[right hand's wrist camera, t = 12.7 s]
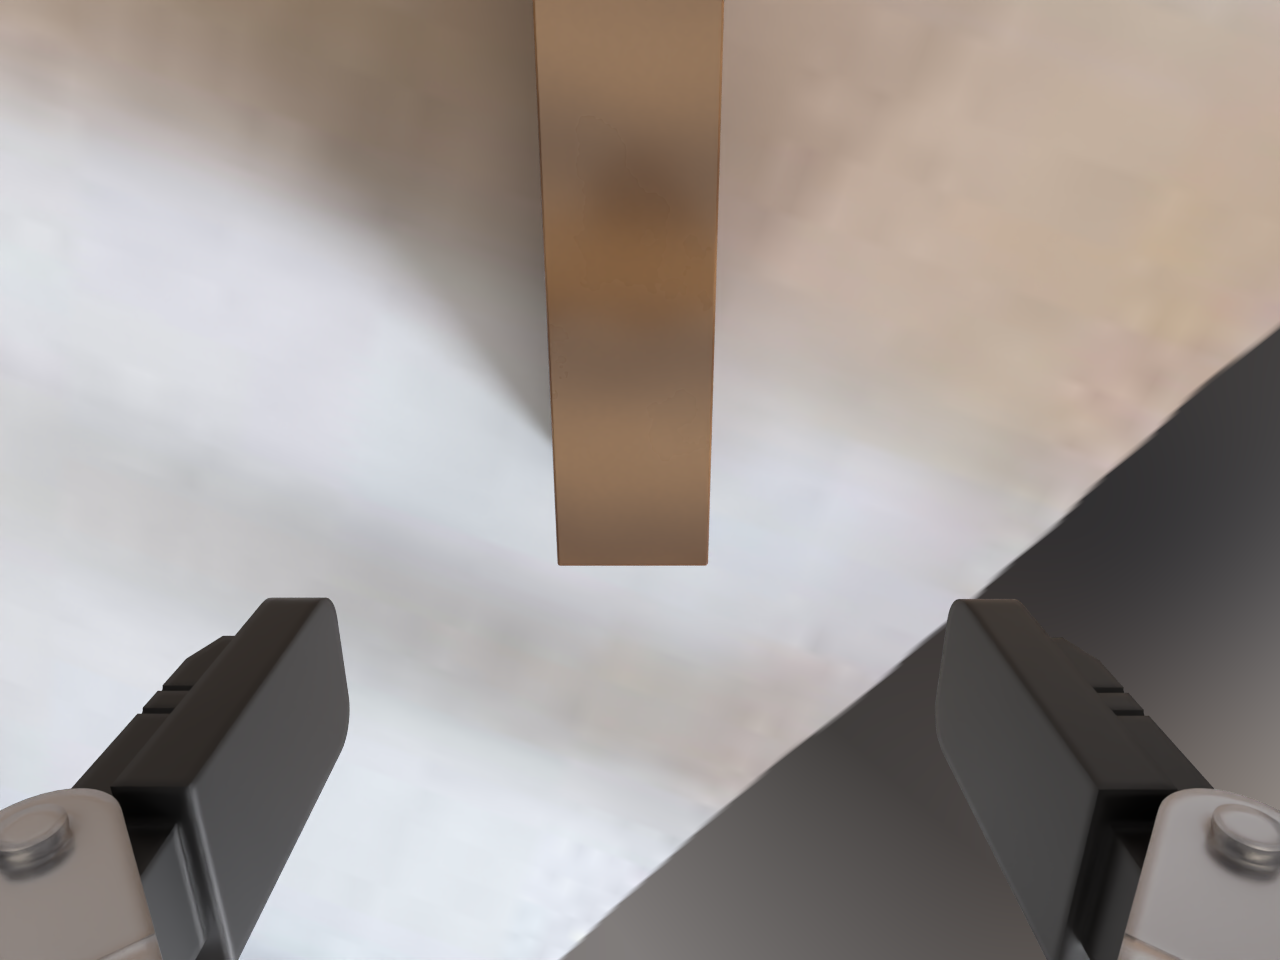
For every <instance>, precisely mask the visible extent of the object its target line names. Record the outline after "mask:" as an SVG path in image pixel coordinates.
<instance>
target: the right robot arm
mask: <svg viewBox="0 0 1280 960" xmlns="http://www.w3.org/2000/svg"><path fill="white" fill-rule="evenodd" d="M935 721H936V729H937V735H938V739H939V743H940V746H941V749H942V751H943V753H944V755H945V757H946V759H947V761H948V763H949V765H950V767H951V769H952V771H953V773H954V775H955V777H956V779H957V781H958V783H959V785H960V787H961V789H962V791H963V793H964V795H965V797H966V799H967V801H968V803H969V805H970V807H971V809H972V811H973V813H974V815H975V817H976V819H977V821H978V823H979V825H980V827H981V829H982V831H983V833H984V835H985V837H986V839H987V841H988V843H989V845H990V847H991V849H992V851H993V853H994V855H995V857H996V859H997V861H998V863H999V865H1000V867H1001V869H1002V871H1003V873H1004V875H1005V877H1006V879H1007V881H1008V883H1009V885H1010V887H1011V889H1012V891H1013V893H1014V895H1015V897H1016V899H1017V901H1018V903H1019V905H1020V907H1021V909H1022V911H1023V913H1024V915H1025V917H1026V919H1027V921H1028V923H1029V925H1030V927H1031V929H1032V931H1033V933H1034V935H1035V937H1036V939H1037V941H1038V943H1039V945H1040V947H1041V949H1042V951H1043V953H1044V955H1045V957H1046V959H1047V960H1280V811H1279V810H1277V809H1275V808H1273V807H1271V806H1269V805H1267V804H1265V803H1262V802H1260V801H1257V800H1255V799H1252V798H1249V797H1246V796H1243V795H1239V794H1236V793H1231V792H1227V791H1223V790H1216V789H1214V788H1213V787H1212V786H1211V785H1210V784H1209V782H1208V781H1207V780H1206V779H1205V778H1204V777H1203V776H1202V775H1201V774H1200V772H1199V771H1198V770H1197V769H1196V768H1195V767H1194V766H1193V765H1192V763H1191V762H1190V761H1189V760H1188V759H1187V758H1186V757H1185V756H1184V755H1183V753H1182V752H1181V751H1180V750H1179V749H1178V748H1177V747H1176V746H1175V744H1174V743H1173V742H1172V741H1171V740H1170V739H1169V738H1168V737H1167V736H1166V734H1165V733H1164V732H1163V731H1162V730H1161V729H1160V728H1159V727H1158V726H1157V724H1156V723H1155V722H1154V721H1153V720H1152V719H1151V718H1150V717H1149V716H1144V712H1143V709H1142V708H1141V707H1140V705H1139V704H1138V703H1137V702H1136V701H1135V700H1134V699H1133V698H1132V696H1131V695H1130V694H1129V693H1124V691H1123V686H1122V685H1121V684H1120V683H1119V682H1118V681H1117V680H1116V679H1115V677H1114V676H1113V675H1112V674H1111V673H1110V672H1109V671H1108V670H1107V669H1106V667H1105V666H1104V665H1103V664H1102V663H1101V662H1100V661H1099V660H1098V659H1096V658H1094V657H1093V656H1091V655H1090V654H1088V653H1086V652H1085V651H1083V650H1082V649H1080V648H1078V647H1077V646H1075V645H1073V644H1072V643H1070V642H1069V641H1067V640H1065V639H1064V638H1051V637H1050V636H1049V635H1048V634H1047V633H1046V631H1045V630H1044V629H1043V628H1042V627H1041V625H1040V624H1039V623H1038V622H1037V621H1036V619H1035V618H1034V617H1033V616H1032V615H1031V613H1030V612H1029V611H1028V610H1027V609H1026V607H1025V606H1024V605H1023V604H1022V603H1021V602H1020V601H1018V600H1016V599H958V600H956V601H954V602H953V604H952V606H951V608H950V611H949V614H948V620H947V626H946V633H945V640H944V646H943V653H942V660H941V667H940V673H939V680H938V687H937V694H936V701H935ZM348 724H349V696H348V689H347V682H346V675H345V668H344V661H343V655H342V648H341V641H340V634H339V627H338V620H337V615H336V610H335V607H334V605H333V603H332V601H331V600H330V599H329V598H268V599H266V600H265V601H264V602H263V603H262V604H261V605H260V606H259V607H258V609H257V610H256V611H255V612H254V613H253V615H252V616H251V617H250V618H249V619H248V621H247V622H246V623H245V624H244V626H243V627H242V628H241V629H240V630H239V632H238V633H237V634H236V635H235V636H222V637H221V638H219V639H217V640H216V641H214V642H212V643H211V644H209V645H208V646H206V647H204V648H203V649H201V650H200V651H198V652H196V653H195V654H193V655H192V656H190V657H188V658H187V659H186V660H185V661H184V662H183V663H182V664H181V665H180V666H179V668H178V669H177V670H176V671H175V672H174V673H173V674H172V676H171V677H170V678H169V679H168V680H167V681H166V682H165V683H164V685H163V689H162V691H157V692H156V694H155V695H154V696H153V697H152V698H151V699H150V700H149V701H148V703H147V704H146V705H145V706H144V707H143V712H142V714H137V715H136V716H135V717H134V718H133V719H132V721H131V722H130V723H129V724H128V725H127V726H126V727H125V728H124V730H123V731H122V732H121V733H120V734H119V735H118V736H117V738H116V739H115V740H114V741H113V742H112V743H111V744H110V745H109V747H108V748H107V749H106V750H105V751H104V752H103V753H102V754H101V756H100V757H99V758H98V759H97V760H96V761H95V762H94V763H93V765H92V766H91V767H90V768H89V769H88V770H87V771H86V772H85V774H84V775H83V776H82V777H81V778H80V779H79V780H78V781H77V783H76V784H75V785H74V786H73V787H72V788H71V789H64V790H57V791H53V792H48V793H44V794H41V795H37V796H34V797H31V798H28V799H25V800H23V801H20V802H18V803H15V804H13V805H11V806H9V807H7V808H5V809H3V810H1V811H0V960H238V959H239V957H240V955H241V953H242V951H243V949H244V947H245V945H246V943H247V941H248V939H249V937H250V935H251V933H252V931H253V929H254V927H255V924H256V922H257V920H258V918H259V916H260V914H261V912H262V910H263V908H264V906H265V904H266V902H267V900H268V898H269V896H270V894H271V892H272V890H273V888H274V886H275V884H276V882H277V880H278V878H279V876H280V874H281V872H282V870H283V868H284V866H285V864H286V862H287V860H288V858H289V856H290V854H291V852H292V850H293V848H294V846H295V844H296V842H297V840H298V838H299V836H300V834H301V832H302V830H303V827H304V825H305V823H306V821H307V819H308V817H309V815H310V813H311V811H312V809H313V807H314V805H315V803H316V801H317V799H318V797H319V795H320V793H321V791H322V789H323V787H324V785H325V783H326V781H327V779H328V777H329V775H330V773H331V771H332V769H333V767H334V765H335V763H336V761H337V759H338V757H339V755H340V753H341V751H342V748H343V746H344V743H345V739H346V735H347V730H348Z"/></svg>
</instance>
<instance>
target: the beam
mask: <svg viewBox="0 0 1280 960" xmlns="http://www.w3.org/2000/svg"><path fill="white" fill-rule="evenodd" d="M723 21H724V0H533V22H534V44H535V66H536V89H537V111H538V134H539V156H540V178H541V201H542V223H543V246H544V268H545V291H546V313H547V335H548V358H549V380H550V403H551V425H552V448H553V470H554V492H555V515H556V537H557V560H558V565H560V566H676V565H707V564H708V545H709V510H710V475H711V440H712V405H713V370H714V335H715V300H716V265H717V230H718V195H719V161H720V126H721V91H722V56H723Z"/></svg>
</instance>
